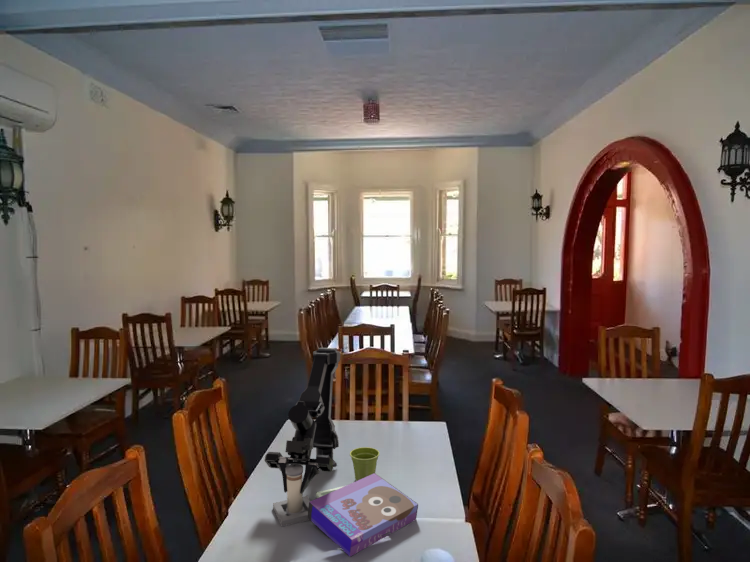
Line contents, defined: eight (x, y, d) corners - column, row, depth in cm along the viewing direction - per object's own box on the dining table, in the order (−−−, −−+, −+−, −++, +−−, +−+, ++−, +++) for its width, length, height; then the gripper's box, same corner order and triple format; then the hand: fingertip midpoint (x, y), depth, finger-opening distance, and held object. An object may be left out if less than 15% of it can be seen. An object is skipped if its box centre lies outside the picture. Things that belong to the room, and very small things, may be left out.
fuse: (284, 510, 147) (283, 466, 146) (301, 506, 149) (300, 462, 148) (288, 519, 143) (287, 473, 141) (306, 515, 144) (305, 469, 143)
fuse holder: (273, 511, 148) (273, 503, 148) (307, 503, 152) (307, 495, 152) (281, 530, 139) (281, 521, 139) (318, 521, 143) (317, 512, 143)
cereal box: (418, 504, 143) (351, 540, 127) (416, 519, 144) (349, 557, 128) (374, 472, 155) (308, 502, 139) (373, 487, 156) (307, 518, 140)
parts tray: (316, 500, 154) (316, 492, 154) (348, 492, 159) (348, 485, 158) (327, 516, 145) (327, 508, 145) (360, 508, 149) (360, 500, 149)
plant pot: (345, 475, 170) (345, 449, 169) (372, 470, 173) (372, 444, 172) (356, 488, 161) (356, 461, 160) (384, 482, 165) (384, 456, 164)
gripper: (265, 424, 149) (252, 480, 139) (330, 428, 146) (320, 485, 136) (276, 440, 157) (263, 493, 148) (337, 443, 154) (328, 498, 145)
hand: (293, 492), depth 144 cm, fingers closed on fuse, 4 cm apart
